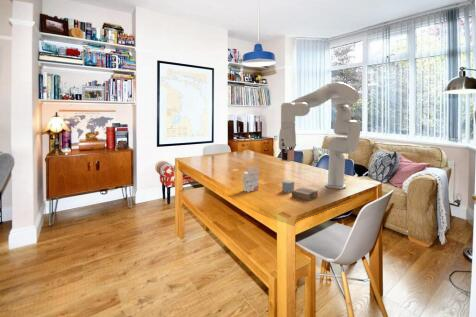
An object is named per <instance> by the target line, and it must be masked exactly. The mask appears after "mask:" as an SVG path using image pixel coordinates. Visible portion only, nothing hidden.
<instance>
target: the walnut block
mask: <svg viewBox="0 0 476 317" xmlns="http://www.w3.org/2000/svg"><path fill="white" fill-rule="evenodd" d="M318 192H319V191H318V190H316V189H310V188H307V187H300V188H296V189H294V190H293V191H292V192H291V197H292V198H295V199H297V200H301V201H305V202H309V201H312V200H314V199H317V198H318V194H319V193H318Z"/></svg>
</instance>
